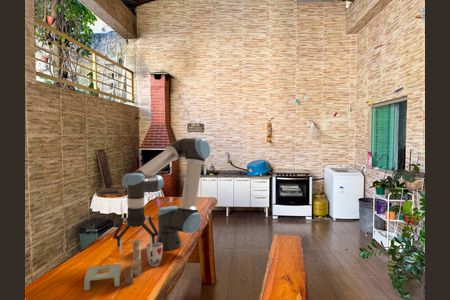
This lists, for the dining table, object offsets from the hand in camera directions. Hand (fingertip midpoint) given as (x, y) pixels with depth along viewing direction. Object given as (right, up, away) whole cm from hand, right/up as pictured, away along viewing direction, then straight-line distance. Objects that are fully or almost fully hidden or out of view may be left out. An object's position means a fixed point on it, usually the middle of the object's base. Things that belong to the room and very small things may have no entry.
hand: (136, 251), depth 144 cm
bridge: (-13, -12, -6) cm, 18 cm away
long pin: (0, -11, +1) cm, 11 cm away
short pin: (-1, -12, -8) cm, 14 cm away
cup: (+6, -11, +13) cm, 18 cm away
